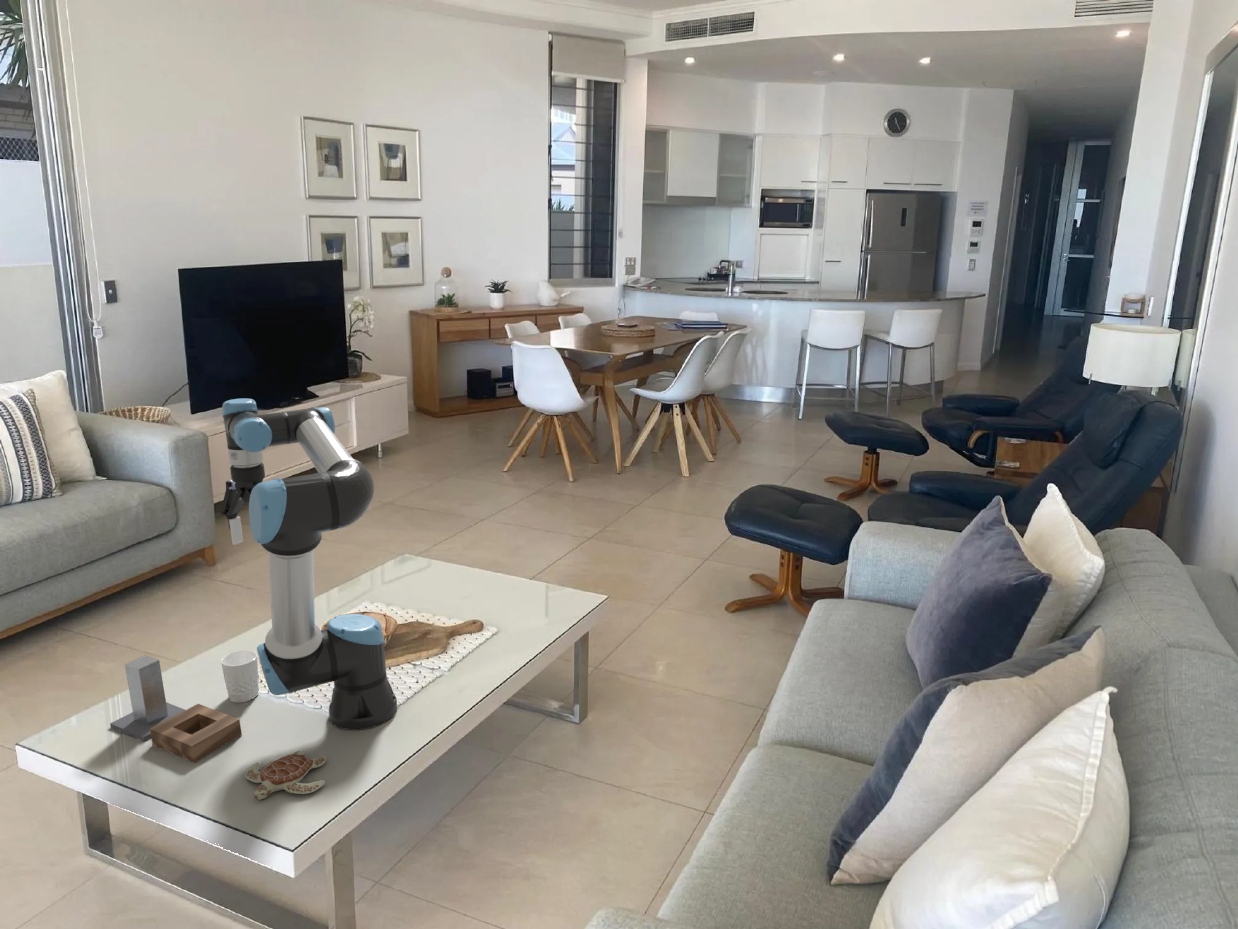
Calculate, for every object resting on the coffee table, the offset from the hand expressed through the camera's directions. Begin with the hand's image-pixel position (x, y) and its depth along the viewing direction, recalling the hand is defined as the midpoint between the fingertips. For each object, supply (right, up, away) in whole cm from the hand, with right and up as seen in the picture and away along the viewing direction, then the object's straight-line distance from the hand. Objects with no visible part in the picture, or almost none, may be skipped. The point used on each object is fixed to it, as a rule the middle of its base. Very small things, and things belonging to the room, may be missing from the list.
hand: (257, 547), depth 227 cm
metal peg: (-18, -37, -15) cm, 44 cm away
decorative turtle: (+20, -45, -37) cm, 62 cm away
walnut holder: (-4, -40, -23) cm, 46 cm away
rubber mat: (-18, -38, -15) cm, 45 cm away
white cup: (-1, -35, -4) cm, 36 cm away
